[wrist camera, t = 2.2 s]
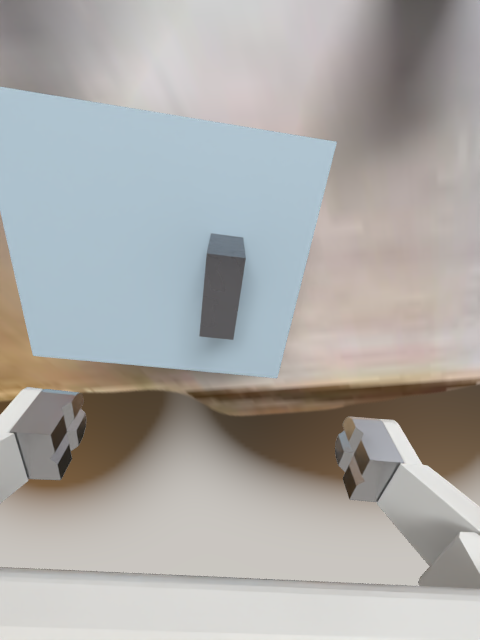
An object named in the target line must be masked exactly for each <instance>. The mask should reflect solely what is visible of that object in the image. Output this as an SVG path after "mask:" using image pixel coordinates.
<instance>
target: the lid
mask: <svg viewBox="0 0 480 640" xmlns="http://www.w3.org/2000/svg"><path fill="white" fill-rule="evenodd" d="M336 143H337V142H335V141H328V140H322V139H316V138H310V137H304V136H298V135H292V134H286V133H280V132H274V131H267V130H261V129H255V128H249V127H243V126H237V125H231V124H225V123H219V122H213V121H206V120H200V119H194V118H188V117H182V116H176V115H170V114H164V113H158V112H152V111H146V110H139V109H133V108H127V107H121V106H115V105H109V104H103V103H97V102H91V101H85V100H78V99H72V98H66V97H60V96H54V95H48V94H42V93H36V92H30V91H24V90H18V89H11V88H5V87H0V212H1V216H2V221H3V225H4V230H5V234H6V238H7V243H8V247H9V252H10V256H11V260H12V265H13V269H14V274H15V278H16V283H17V287H18V291H19V296H20V300H21V305H22V309H23V314H24V318H25V322H26V327H27V331H28V336H29V340H30V344H31V349H32V353H33V356H41V357H52V358H63V359H74V360H85V361H95V362H106V363H117V364H128V365H139V366H150V367H160V368H171V369H182V370H193V371H204V372H214V373H225V374H236V375H247V376H258V377H269V378H277V377H278V373H279V369H280V365H281V361H282V357H283V353H284V349H285V345H286V341H287V337H288V333H289V330H290V326H291V322H292V318H293V314H294V310H295V306H296V302H297V298H298V294H299V290H300V286H301V282H302V278H303V274H304V270H305V266H306V262H307V258H308V254H309V250H310V246H311V242H312V238H313V234H314V230H315V226H316V222H317V218H318V215H319V211H320V207H321V203H322V199H323V195H324V191H325V187H326V183H327V179H328V175H329V171H330V167H331V163H332V159H333V155H334V151H335V147H336Z"/></svg>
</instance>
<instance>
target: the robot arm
mask: <svg viewBox="0 0 480 640" xmlns="http://www.w3.org/2000/svg"><path fill="white" fill-rule="evenodd" d="M83 403H84V400H83V395H82V394H81V393H77V392H68V391H60V390H51V389H39V388H30V387H27V388H25V389H23V390H22V391H21V392H20V393H19V394H18V395H17V396H16V397H15V399H14V400H13V401H12V402H11V403H10V404H9V406H8V407H7V408H6V409H5V410H4V411H3V412H2V414H1V415H0V503H2V502H3V501H4V500H5V499H6V498H8V497H9V496H10V495H11V494H13V493H14V492H15V491H16V490H18V489H19V488H20V487H21V486H22V485H24V484H25V483H26V482H27V481H28V479H46V480H61V479H62V477H63V475H64V473H65V471H66V469H67V467H68V465H69V463H70V462H71V460H72V457H71V450H73V449H74V448H76V447H77V446H79V444H80V442H81V440H82V438H83V435H84V431H85V428H86V414H85V412H84V411H82V410H81V407H82V405H83ZM343 428H344V431H343V432H342V433H340V434H339V435H338V437H337V440H336V444H335V454H336V459H337V462H338V466H339V467H340V468H342V470H343V471H344V472H345V474H344V477H343V481H344V484H345V487H346V490H347V493H348V496H349V499H350V500H359V501H369V502H377V505H378V506H379V507H380V508H381V509H382V511H383V512H384V513H385V514H386V515H387V517H388V518H389V519H390V520H391V521H392V522H393V524H394V525H395V526H396V527H397V528H398V529H399V530H400V532H401V533H402V534H403V535H404V537H405V538H406V539H407V540H408V541H409V543H411V545H412V546H413V547H414V548H415V549H416V551H417V552H418V553H419V554H420V555H421V557H422V558H423V559H424V560H425V561H426V563H427V564H428V565H429V566H430V567H429V568H428V569H427V570H426V571H425V572H424V574H423V575H422V576H421V577H420V579H419V581H418V583H419V586H407V585H384V584H363V583H362V584H361V583H341V582H319V581H297V580H296V581H295V580H275V579H274V580H273V579H251V578H231V577H208V576H186V575H163V574H162V575H161V574H142V573H120V572H97V571H75V570H51V569H29V568H8V567H0V640H480V507H479V506H478V505H477V504H476V503H474V502H473V501H472V500H470V499H469V498H468V497H467V496H466V495H464V494H463V493H462V492H460V491H459V490H458V489H457V488H455V487H454V486H453V485H452V484H450V483H449V482H448V481H446V480H445V479H444V478H443V477H441V476H440V475H439V474H438V473H436V472H435V471H434V470H433V469H431V468H430V467H429V466H427V465H422V463H421V461H420V460H419V458H418V456H417V455H416V453H415V451H414V450H413V448H412V446H411V445H410V443H409V441H408V439H407V438H406V436H405V434H404V433H403V431H402V429H401V428H400V426H399V424H398V423H397V422H396V421H394V420H385V419H372V418H371V419H370V418H359V417H347V418H346V419H345V420H344V423H343Z"/></svg>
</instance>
